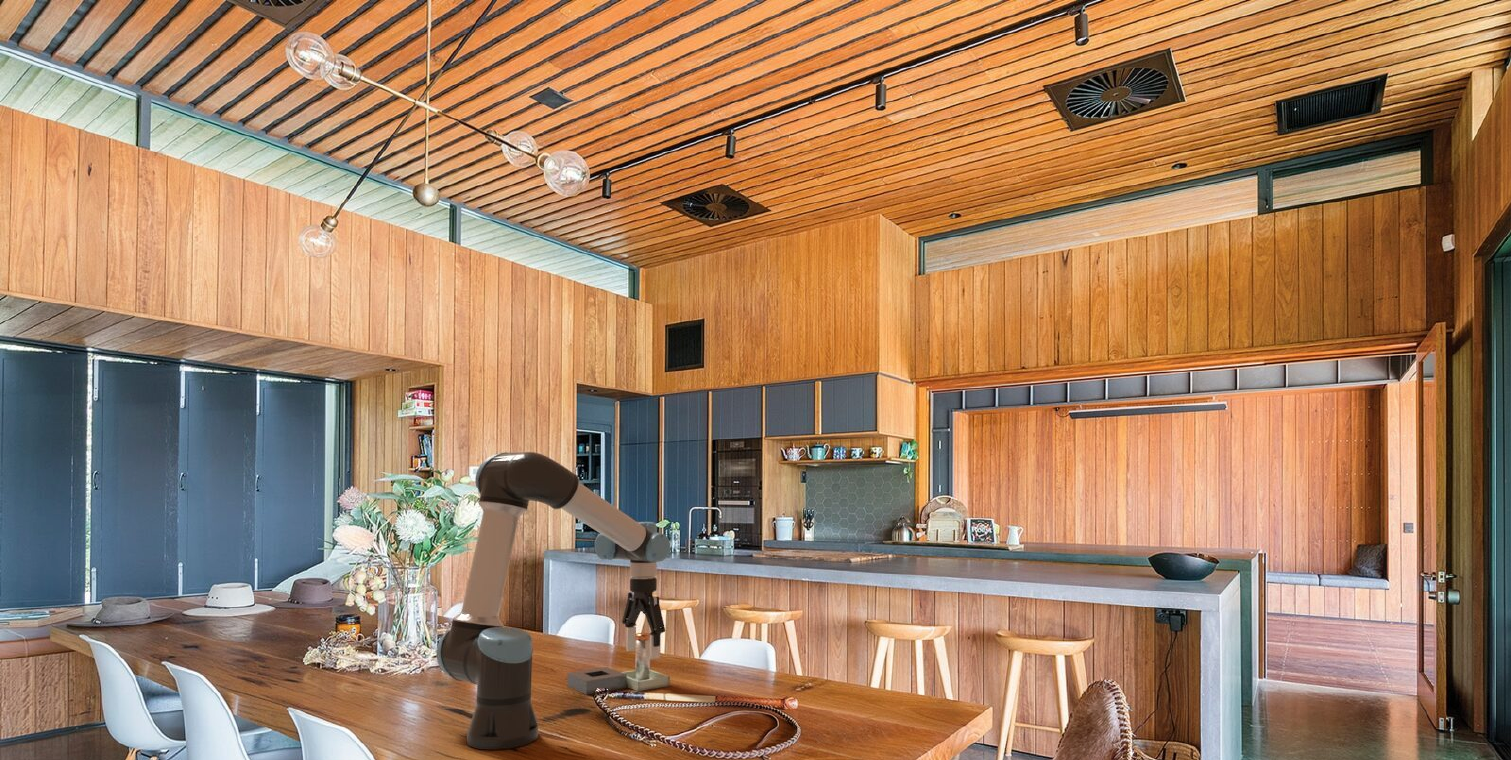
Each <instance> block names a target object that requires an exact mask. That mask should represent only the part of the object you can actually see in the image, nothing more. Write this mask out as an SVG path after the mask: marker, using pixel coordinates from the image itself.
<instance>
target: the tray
mask: <svg viewBox="0 0 1511 760" xmlns="http://www.w3.org/2000/svg"><path fill="white" fill-rule="evenodd" d="M621 673H624V674H626V675H627V688H628V689H630V690H632V691H633V690H634V691H635V692H642V691H649V690H655V689H659V688H667V687H670V686H671V676H670V675H667V674H664V673H661V672H659V671H656V670H652V669H650V679H648V680H642V681H638V680H636V679H635V669H634V670H628V671H627V670H626V671H621Z"/></svg>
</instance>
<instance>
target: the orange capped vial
mask: <svg viewBox="0 0 1511 760" xmlns="http://www.w3.org/2000/svg"><path fill="white" fill-rule="evenodd" d="M650 633H651V632H650ZM650 633H649V632H636V650H635V657H634V658H635V660H634V661H635V663H634V665H635V669H634V670H635V679H636V680H638V681H642V680H648V679H650V670H651V669H650V668H651V659H650Z"/></svg>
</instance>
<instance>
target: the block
mask: <svg viewBox="0 0 1511 760" xmlns="http://www.w3.org/2000/svg"><path fill="white" fill-rule="evenodd" d="M621 672H622V671H621ZM621 672H620V671H618V670H616V669H613V668H610V667H607V666H604V667H598V668H592V669H585V670H578V671H573V672H568V673H567V684H566V685H567V687H569V688H571V689H573V690H575V691H577V692H580V693H582V694H584V695H592V694H593V695H594V694H595V693H594V691H595V689H597V688H606V689H608V690H610V691H616V690H621V689H623V690H624V689H626V688H628V687H627V675H626V674H624V673H621Z"/></svg>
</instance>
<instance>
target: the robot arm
mask: <svg viewBox="0 0 1511 760" xmlns="http://www.w3.org/2000/svg"><path fill="white" fill-rule="evenodd" d="M475 488H477V491H478V493H479V494H480V496H479V500H478V505H479V506H480V508H481V509H482V516H481V520H480V526H479V531H478V535H477V540H476V544H475V548H474V552H473V558H472V562H471V568H470V570H469V571H470V572H469V576H468V580H467V584H466V589H465V595H464V598H463V604H462V608H461V612H459V613H458V614H457V615H456V616H455V617H453V618H452V621H451V626H450V629H448V630H447V631H446V632H445V633H444V634H443V635H442V636H441V637H440V639H439V642H438V644H437V647H436V660H437V664H438V667H439V668H440V670H441V671H442V673H444V674H445V675H446V676H448V677H451V678H452V679H454V680H456V681H458V682H466V683H468V684H469V683H470V684H472V685H476V705H475V708H474V711H473V714H472V716H471V721H470V723H469V727H468V729H467V733H466V734H467V735H466V744H467V746H469V747H471V748H474V749H478V750H494V751H495V750H506V749H512V748H513V749H514V748H518V747H523V746H526V745H528V744H531V743H532V742H534V741H536V740H537V739H538V738H539V724H538V721H537V718H536V714H535V711H534V708H533V705H532V704H533V703H532V674H533V673H532V670H533V669H532V668H533V654H534V649H533V639H532V636H531V634H530V632H528V631H526V630H524V629H521V628H517V627H508V626H504V623H503V622H502V621H501V619H500V612H501V611H500V610H501V606H502V602H503V601H502V600H503V596H504V592H505V591H504V590H505V587H506V582H507V578H508V577H507V576H508V571H509V568H510V562H511V557H512V553H513V548H514V543H515V538H516V533H517V530H518V523H519V518H520V517H521V516H522V515H524V514H525V513H526V512H527V511H528V507H529V502H530V501H533V502H539V503H542V504H545V505H547V506H549V507H550V508H552V509H554V510H562V511H564V512H566V513H567V514H569V515H571V516H573V517H574V518H576V519H577V520H579V521H580V522H581V523H583V524H585V525H587V526H588V527H590V528H591V529H593V530H594V531H596V532H598V533H599V534H597V536H596V538H595V540H594V551H595V555H596V556H597V557H598V558H599V559H600V560H605V561H606V560H609V561H612V560H628V561H629V576H630V577H631V578H630V579H629V591H630V592H628V593H627V601H626V604H625V608H624V613H623V616H622V619H621V623H622V625H624V626H625V627H626V628H625V629H626V632H625V633H626V640H625V641H626V642H625V643H626V644H625V647H626V648H625V649H626V650H625V651H626V652H633V651H636V634H637V627H636V626H637V623H636V622H637V620H638V618H639V616H640V614H641V612H642V614H644V616H645V617H646V620H647V623H648V627H649V628H650V660H655V659H660V658H661V634H662V633H666V628H665V627H666V626H665V623H664V618H663V615H662V610H661V605H660V597H659V596H654V595H653V593H654V592H656V591H657V587H658V585H657V583H658V582H657V580H658V579H657V578H656V576H657V575H658V574H657V572H658V571H657V568H658V564H657V563H660V562H663V561H664V560H666V559H667V558H668V556H669V554H670V550H671V542H670V539H669V537H668V536H667V535H666V534H664V533H661V532H658V527H657V524H656V523H655V522H653V521H636V520H634V519H633V518H632V517H630V516H629V515H627V514H626V513H624V512H623V511H621V510H620V509H618V508H617V507H616V506H614V505H613V504H611V503H610V502H608V501H607V500H606V499H604V498H603V497H601V496H600V495H599V494H596V493H595V492H594V491H592V490H591V489H590V488H588V487H586V486H585V485H584V484H582V483H581V482H580V478H579V476H578V475H577V474H575V473H574V472H572V471H571V470H569V469H568V468H566V467H565V466H563V465H562V464H560V463H559V462H557V461H555V460H554V459H552V458H550V457H549V456H546V455H544V454H542V453H539V452H534V451H532V452H531V451H527V452H525V451H524V452H508V451H507V452H501V453H497V454H493V455H490V456H489V457H487V458H486V459H484V460H482V463H480V465H479V467H478V468H477V471H476V474H475Z"/></svg>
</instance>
